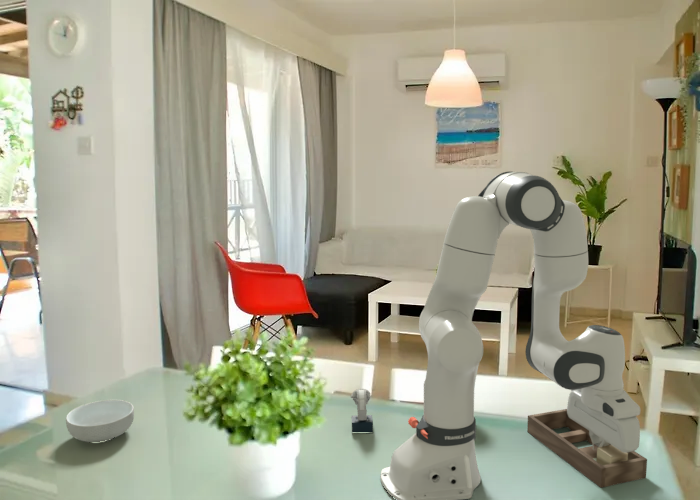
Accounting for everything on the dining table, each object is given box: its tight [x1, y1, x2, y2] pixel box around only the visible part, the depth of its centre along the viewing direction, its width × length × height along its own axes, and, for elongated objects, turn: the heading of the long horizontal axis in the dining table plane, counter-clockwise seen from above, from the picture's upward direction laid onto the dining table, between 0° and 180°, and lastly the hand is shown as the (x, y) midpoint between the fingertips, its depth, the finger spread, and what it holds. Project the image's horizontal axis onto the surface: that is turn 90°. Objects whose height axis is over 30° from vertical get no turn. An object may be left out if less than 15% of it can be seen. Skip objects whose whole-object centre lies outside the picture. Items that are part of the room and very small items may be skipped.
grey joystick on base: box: [350, 388, 374, 433], centre depth 162 cm, size 6×8×11 cm
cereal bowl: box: [65, 399, 135, 443], centre depth 162 cm, size 17×17×7 cm
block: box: [597, 445, 628, 466], centre depth 138 cm, size 4×4×4 cm
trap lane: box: [527, 408, 648, 489], centre depth 147 cm, size 12×28×4 cm, turn 17°
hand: (599, 452), depth 142 cm, fingers closed
